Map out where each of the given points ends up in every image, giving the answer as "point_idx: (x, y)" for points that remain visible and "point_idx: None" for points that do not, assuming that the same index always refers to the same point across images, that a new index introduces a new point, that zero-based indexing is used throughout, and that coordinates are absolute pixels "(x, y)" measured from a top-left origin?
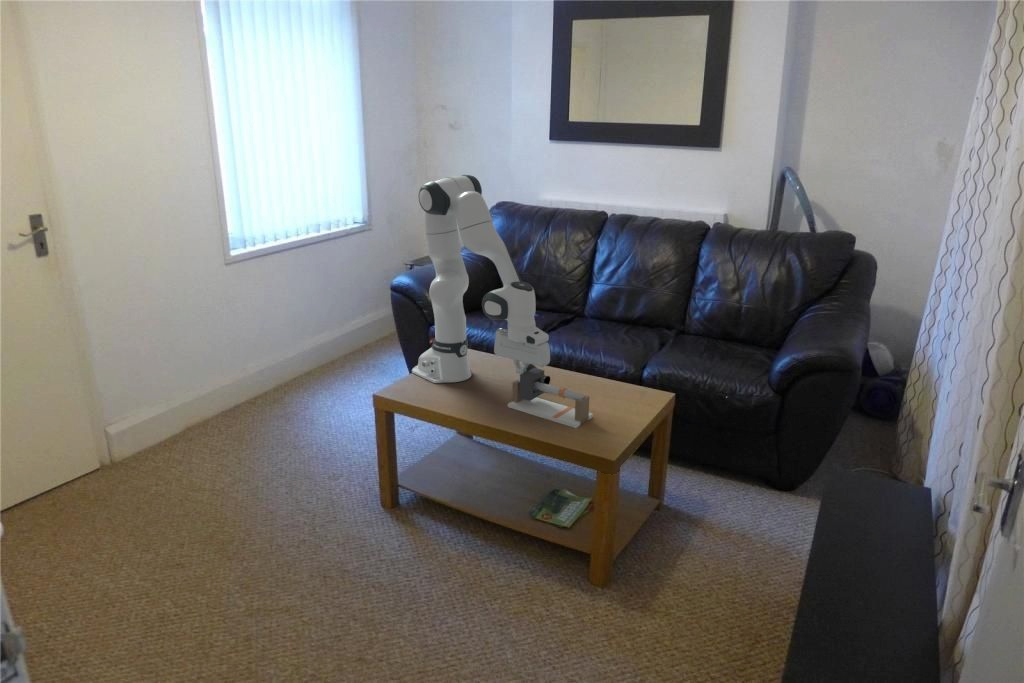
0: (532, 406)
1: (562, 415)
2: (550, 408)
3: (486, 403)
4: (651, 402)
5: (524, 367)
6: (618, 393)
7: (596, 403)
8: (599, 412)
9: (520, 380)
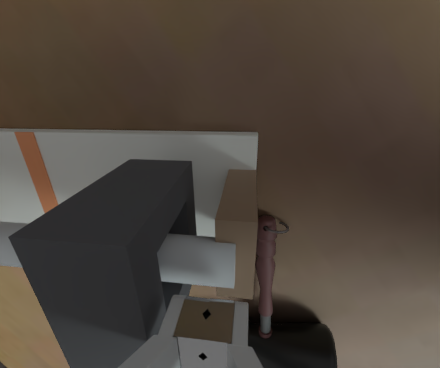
0: None
1: (25, 168)
2: None
3: (374, 105)
4: (4, 344)
5: (127, 363)
6: None
7: None
8: None
9: (145, 212)
